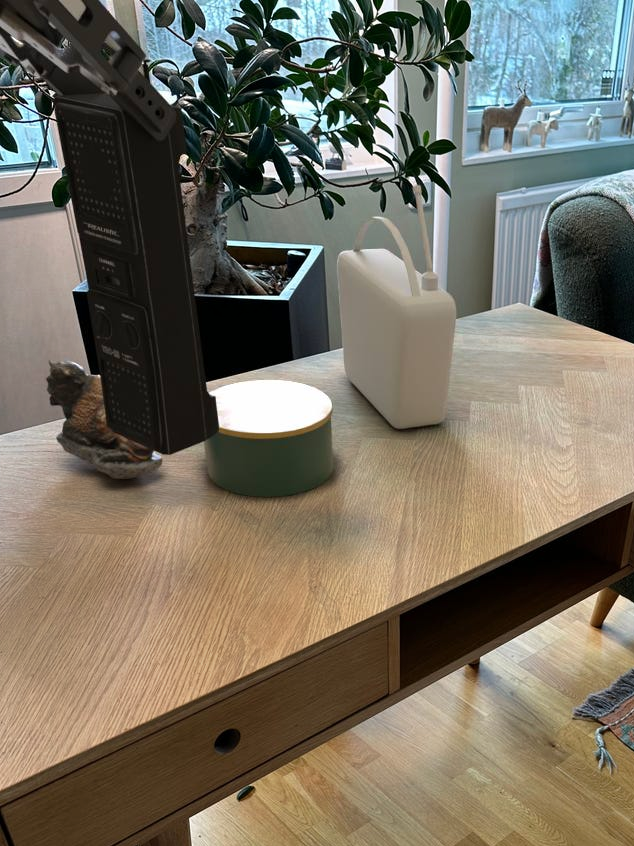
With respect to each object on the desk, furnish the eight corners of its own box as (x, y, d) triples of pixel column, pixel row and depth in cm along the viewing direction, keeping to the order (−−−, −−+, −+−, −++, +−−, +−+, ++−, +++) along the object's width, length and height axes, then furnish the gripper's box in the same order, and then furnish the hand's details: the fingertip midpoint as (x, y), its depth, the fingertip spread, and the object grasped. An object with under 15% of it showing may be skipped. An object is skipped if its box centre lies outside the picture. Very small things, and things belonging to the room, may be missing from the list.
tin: (179, 465, 93) (169, 402, 88) (280, 430, 101) (275, 370, 97) (260, 511, 86) (253, 445, 82) (361, 469, 94) (359, 407, 90)
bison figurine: (178, 471, 92) (163, 377, 86) (125, 497, 87) (105, 399, 81) (98, 440, 96) (78, 348, 90) (43, 463, 91) (18, 368, 85)
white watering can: (465, 430, 104) (478, 199, 89) (400, 440, 101) (401, 201, 85) (395, 365, 119) (396, 158, 104) (337, 372, 116) (329, 159, 101)
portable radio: (95, 430, 69) (14, 48, 54) (158, 408, 73) (98, 47, 58) (161, 460, 66) (95, 62, 51) (223, 435, 70) (179, 60, 55)
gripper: (-13, -213, 39) (230, 85, 54) (-144, -206, 46) (102, 56, 61) (-100, -71, 39) (166, 190, 54) (-219, -85, 46) (45, 149, 61)
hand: (131, 118), depth 57 cm, fingers closed on portable radio, 7 cm apart
